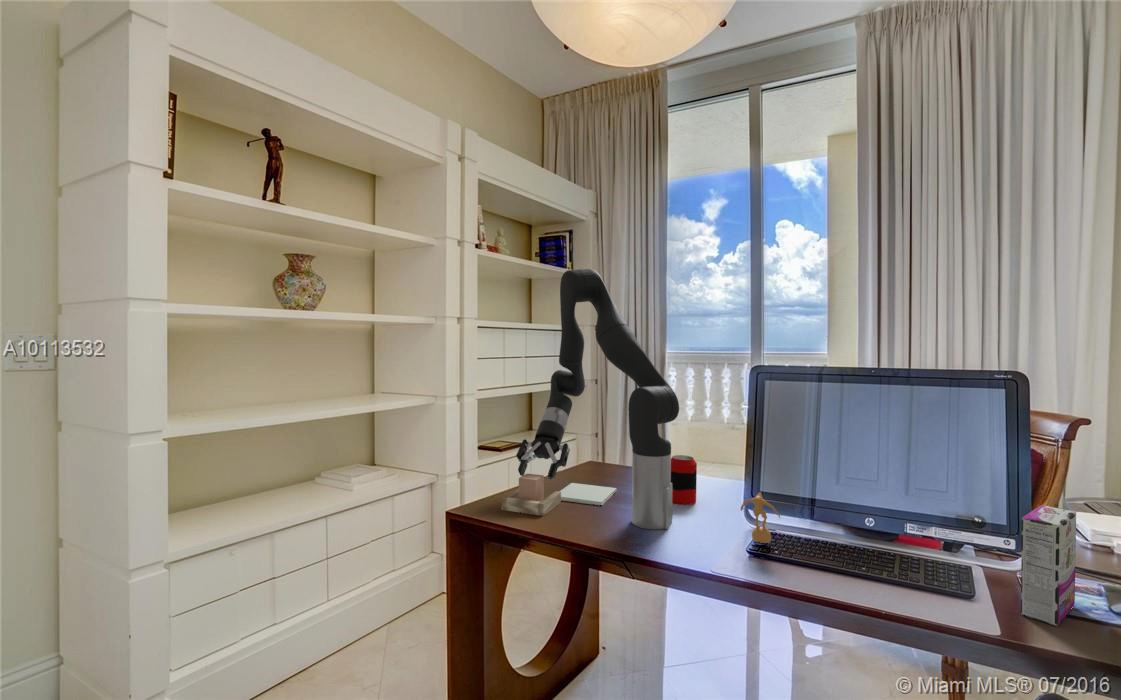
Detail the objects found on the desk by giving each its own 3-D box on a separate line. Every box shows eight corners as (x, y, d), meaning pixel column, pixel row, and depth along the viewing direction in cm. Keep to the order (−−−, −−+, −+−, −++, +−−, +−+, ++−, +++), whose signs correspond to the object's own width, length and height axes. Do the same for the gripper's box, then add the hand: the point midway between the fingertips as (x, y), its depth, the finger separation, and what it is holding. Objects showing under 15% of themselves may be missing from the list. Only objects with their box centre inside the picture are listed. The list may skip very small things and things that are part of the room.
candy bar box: (1036, 595, 95) (1039, 503, 95) (1075, 607, 91) (1078, 511, 90) (1017, 614, 88) (1020, 516, 88) (1057, 628, 84) (1061, 525, 84)
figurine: (783, 547, 116) (784, 492, 116) (776, 556, 111) (777, 498, 111) (745, 538, 121) (746, 485, 121) (736, 546, 116) (737, 491, 116)
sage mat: (616, 491, 156) (616, 488, 156) (601, 505, 143) (601, 502, 143) (571, 486, 161) (571, 482, 161) (553, 499, 148) (553, 495, 148)
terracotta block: (543, 505, 144) (543, 475, 143) (535, 510, 139) (536, 480, 139) (526, 502, 145) (527, 473, 145) (518, 508, 141) (518, 478, 141)
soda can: (695, 506, 143) (696, 461, 143) (667, 503, 145) (667, 459, 145) (696, 497, 151) (696, 455, 150) (668, 495, 153) (669, 453, 152)
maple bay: (560, 502, 146) (560, 491, 145) (543, 515, 135) (543, 504, 135) (521, 497, 150) (521, 486, 150) (501, 509, 139) (501, 498, 139)
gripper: (526, 417, 155) (507, 465, 144) (572, 420, 149) (555, 471, 139) (533, 432, 160) (516, 480, 150) (578, 436, 154) (563, 486, 144)
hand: (535, 476), depth 144 cm, fingers open, 8 cm apart
